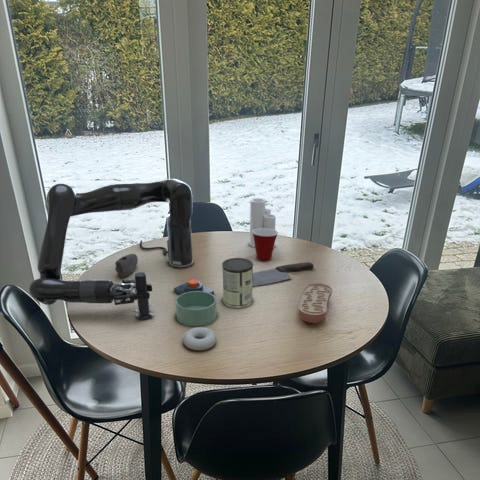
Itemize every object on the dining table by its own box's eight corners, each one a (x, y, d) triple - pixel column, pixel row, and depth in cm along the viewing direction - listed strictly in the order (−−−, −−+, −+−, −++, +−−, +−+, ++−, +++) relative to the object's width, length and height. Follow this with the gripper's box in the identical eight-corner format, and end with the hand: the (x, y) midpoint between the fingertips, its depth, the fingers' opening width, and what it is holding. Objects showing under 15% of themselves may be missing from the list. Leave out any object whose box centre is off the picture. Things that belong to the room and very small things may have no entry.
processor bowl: (168, 316, 154) (167, 299, 151) (198, 303, 162) (197, 287, 159) (194, 330, 146) (193, 314, 143) (224, 316, 154) (224, 300, 151)
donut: (215, 334, 145) (183, 334, 144) (215, 324, 143) (182, 325, 142) (217, 352, 136) (182, 353, 136) (217, 342, 135) (182, 343, 134)
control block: (174, 292, 169) (173, 283, 168) (192, 284, 175) (191, 276, 173) (195, 303, 162) (195, 294, 160) (214, 295, 167) (213, 286, 166)
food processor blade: (127, 319, 152) (121, 277, 145) (141, 308, 159) (136, 267, 151) (148, 324, 150) (143, 281, 142) (161, 313, 156) (158, 271, 148)
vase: (248, 246, 208) (248, 201, 198) (251, 240, 214) (252, 197, 204) (273, 248, 206) (275, 203, 196) (276, 243, 212) (278, 198, 202)
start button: (186, 285, 167) (186, 281, 166) (194, 282, 169) (193, 278, 168) (192, 289, 165) (192, 284, 164) (200, 285, 167) (200, 281, 166)
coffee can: (228, 292, 169) (228, 255, 162) (256, 297, 166) (257, 259, 159) (218, 305, 161) (217, 267, 154) (246, 310, 158) (247, 271, 151)
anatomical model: (324, 330, 147) (325, 316, 145) (292, 325, 149) (293, 311, 147) (332, 297, 166) (333, 285, 164) (304, 294, 168) (305, 281, 166)
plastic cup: (280, 256, 199) (282, 228, 193) (271, 265, 191) (272, 237, 185) (257, 251, 203) (258, 224, 197) (247, 260, 194) (247, 232, 188)
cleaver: (307, 264, 191) (307, 259, 190) (320, 273, 184) (321, 268, 183) (241, 278, 180) (241, 273, 179) (253, 288, 173) (253, 283, 172)
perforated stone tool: (131, 264, 191) (129, 248, 187) (143, 265, 190) (141, 249, 186) (112, 279, 178) (110, 262, 175) (125, 281, 177) (123, 263, 174)
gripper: (103, 292, 158) (155, 292, 158) (92, 312, 145) (148, 312, 145) (100, 271, 154) (153, 271, 154) (88, 291, 141) (145, 291, 142)
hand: (150, 291), depth 150 cm, fingers open, 4 cm apart
